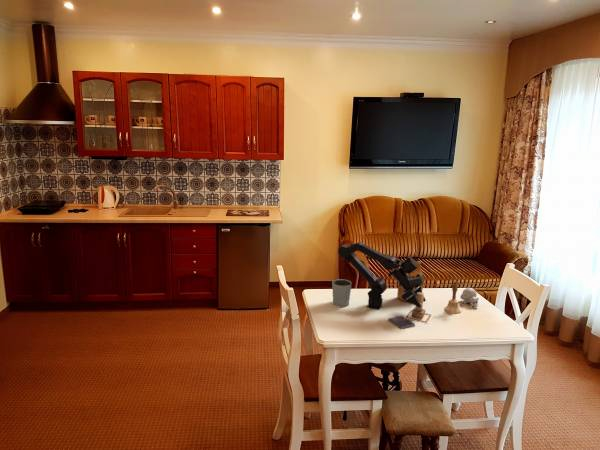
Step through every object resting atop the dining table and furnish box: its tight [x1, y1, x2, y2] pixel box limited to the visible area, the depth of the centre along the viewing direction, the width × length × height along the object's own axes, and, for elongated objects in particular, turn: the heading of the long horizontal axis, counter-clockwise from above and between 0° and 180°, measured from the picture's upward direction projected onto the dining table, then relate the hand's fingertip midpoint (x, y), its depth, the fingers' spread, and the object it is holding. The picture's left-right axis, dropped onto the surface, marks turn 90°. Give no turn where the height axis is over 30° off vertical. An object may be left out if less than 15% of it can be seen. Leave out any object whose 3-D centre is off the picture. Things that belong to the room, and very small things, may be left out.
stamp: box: [411, 292, 426, 319], centre depth 221 cm, size 5×5×12 cm
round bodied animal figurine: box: [459, 287, 479, 309], centre depth 240 cm, size 7×12×8 cm, turn 10°
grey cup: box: [331, 278, 352, 308], centre depth 234 cm, size 10×10×12 cm
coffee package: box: [396, 260, 424, 302], centre depth 243 cm, size 10×12×22 cm
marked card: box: [403, 309, 434, 325], centre depth 223 cm, size 12×12×1 cm
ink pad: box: [387, 315, 416, 329], centre depth 214 cm, size 10×8×1 cm
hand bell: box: [443, 281, 462, 315], centre depth 230 cm, size 8×8×16 cm
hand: (422, 304), depth 220 cm, fingers open, 9 cm apart
